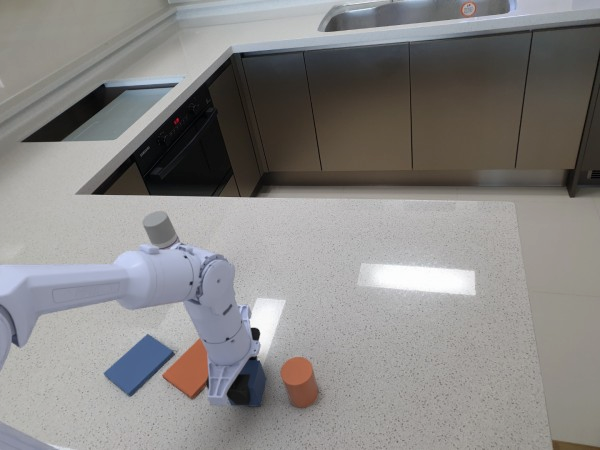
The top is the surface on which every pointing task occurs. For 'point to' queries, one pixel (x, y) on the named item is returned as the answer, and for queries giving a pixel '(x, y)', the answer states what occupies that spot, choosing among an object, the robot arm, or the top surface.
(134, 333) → the top surface
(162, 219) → the container
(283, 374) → the terracotta cylinder
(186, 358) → the terracotta mat
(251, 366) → the blue cube
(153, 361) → the blue mat
